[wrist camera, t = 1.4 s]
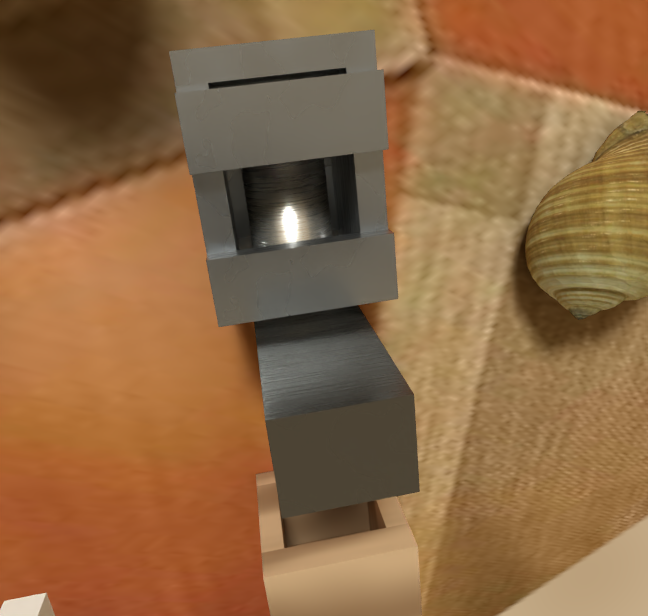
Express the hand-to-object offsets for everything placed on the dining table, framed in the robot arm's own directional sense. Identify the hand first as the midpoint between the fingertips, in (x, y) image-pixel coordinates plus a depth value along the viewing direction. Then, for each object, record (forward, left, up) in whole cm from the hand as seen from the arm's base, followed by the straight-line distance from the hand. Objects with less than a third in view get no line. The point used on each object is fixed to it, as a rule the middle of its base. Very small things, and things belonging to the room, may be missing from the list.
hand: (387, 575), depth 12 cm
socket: (0, -12, -16) cm, 20 cm away
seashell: (+15, +3, -17) cm, 23 cm away
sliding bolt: (0, +1, -16) cm, 16 cm away
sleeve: (0, +7, -16) cm, 18 cm away
